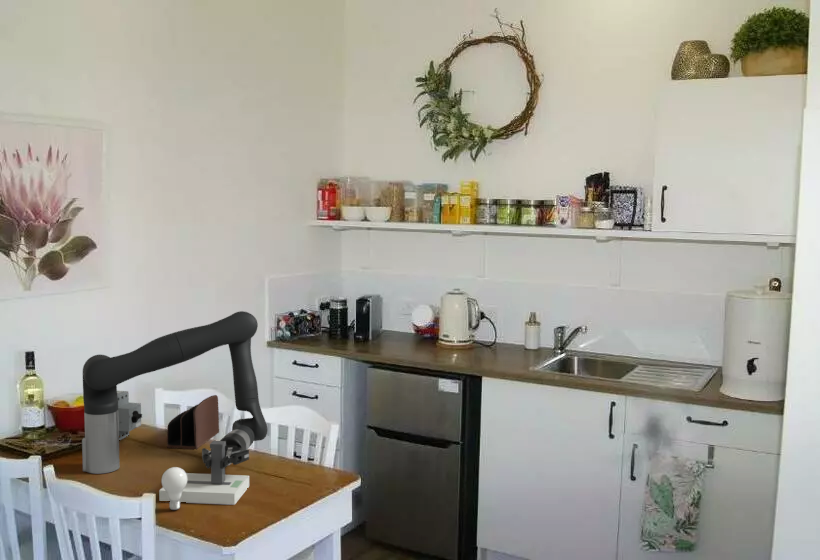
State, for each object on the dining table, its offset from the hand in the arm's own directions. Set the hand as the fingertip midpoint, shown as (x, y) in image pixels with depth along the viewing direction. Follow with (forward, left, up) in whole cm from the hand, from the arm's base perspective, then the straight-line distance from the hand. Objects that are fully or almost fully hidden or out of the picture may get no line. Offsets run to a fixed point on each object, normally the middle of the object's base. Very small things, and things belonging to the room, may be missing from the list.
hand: (214, 464), depth 216 cm
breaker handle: (0, +3, -6) cm, 6 cm away
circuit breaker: (-47, +49, -9) cm, 69 cm away
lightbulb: (-7, -9, -9) cm, 15 cm away
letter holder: (-23, +50, -9) cm, 56 cm away
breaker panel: (-3, +3, -9) cm, 10 cm away
